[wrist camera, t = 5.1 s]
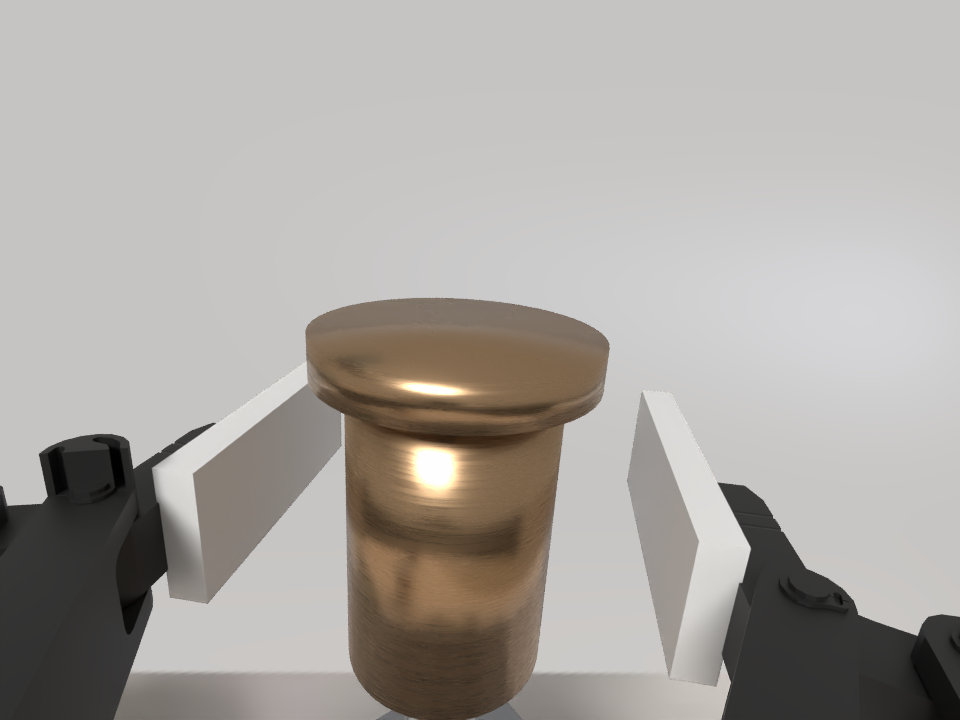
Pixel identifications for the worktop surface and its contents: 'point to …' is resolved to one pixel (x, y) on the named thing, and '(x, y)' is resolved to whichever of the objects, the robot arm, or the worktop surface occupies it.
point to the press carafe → (503, 716)
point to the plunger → (450, 487)
